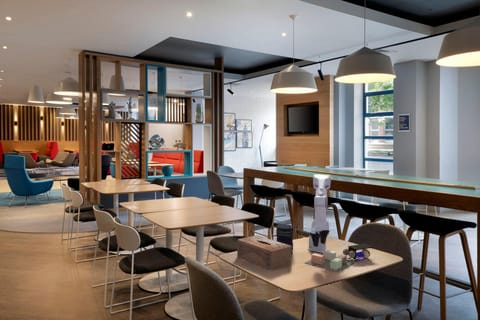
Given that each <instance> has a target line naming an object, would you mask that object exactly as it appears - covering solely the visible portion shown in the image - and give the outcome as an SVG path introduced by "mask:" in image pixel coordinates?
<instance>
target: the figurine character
mask: <svg viewBox="0 0 480 320" xmlns="http://www.w3.org/2000/svg"><path fill="white" fill-rule="evenodd" d="M369 249H373V246H371V245H369V244H367V243H361V244H353V245H348V247H347V248H344V249H343V250H342V255H346V256H347V260H351V261H356V259H357V260H358V259H362V258H363V259H368V258H369V257H370V256H371V252H370V251H369Z"/></svg>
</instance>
